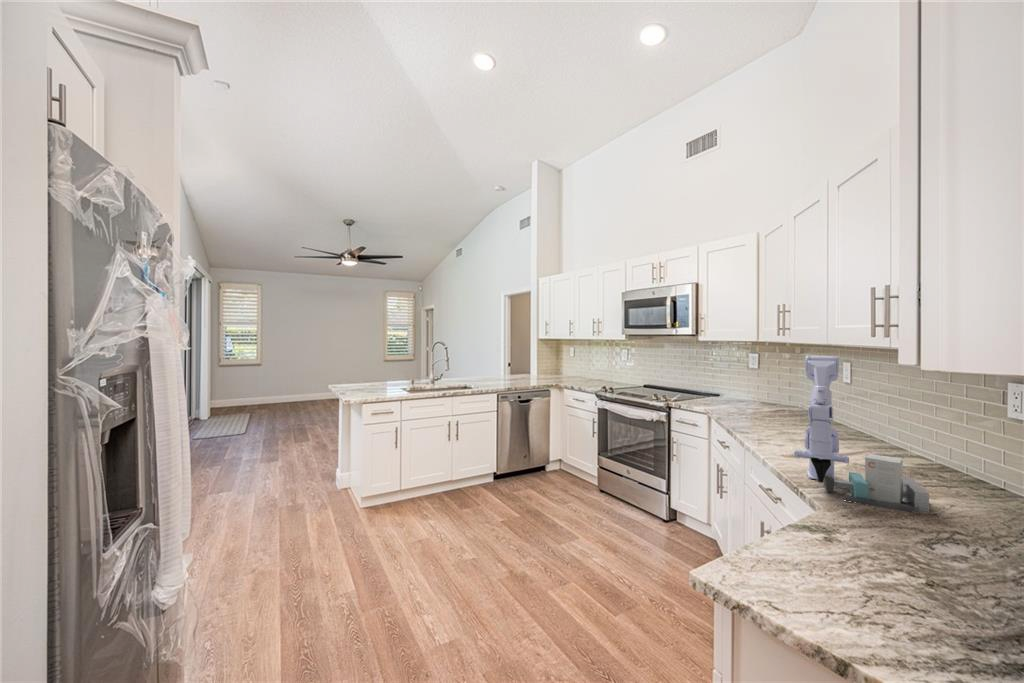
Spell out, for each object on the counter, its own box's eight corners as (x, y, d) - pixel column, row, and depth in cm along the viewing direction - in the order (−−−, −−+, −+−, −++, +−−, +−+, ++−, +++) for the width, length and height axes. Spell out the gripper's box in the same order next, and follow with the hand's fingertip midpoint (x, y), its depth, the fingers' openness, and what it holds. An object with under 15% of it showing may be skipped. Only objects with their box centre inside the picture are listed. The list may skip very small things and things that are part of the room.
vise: (835, 485, 139) (835, 468, 139) (911, 496, 129) (911, 477, 129) (844, 501, 126) (844, 481, 126) (929, 514, 116) (929, 493, 116)
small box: (903, 500, 126) (903, 458, 126) (900, 506, 122) (900, 463, 121) (868, 493, 132) (868, 453, 132) (864, 498, 128) (864, 457, 128)
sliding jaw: (822, 484, 139) (822, 468, 139) (860, 490, 134) (860, 473, 134) (827, 495, 130) (827, 478, 129) (868, 502, 124) (868, 484, 124)
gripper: (794, 440, 135) (794, 481, 135) (851, 446, 127) (851, 489, 128) (793, 436, 141) (793, 474, 141) (846, 441, 133) (846, 482, 134)
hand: (820, 481), depth 135 cm, fingers closed
